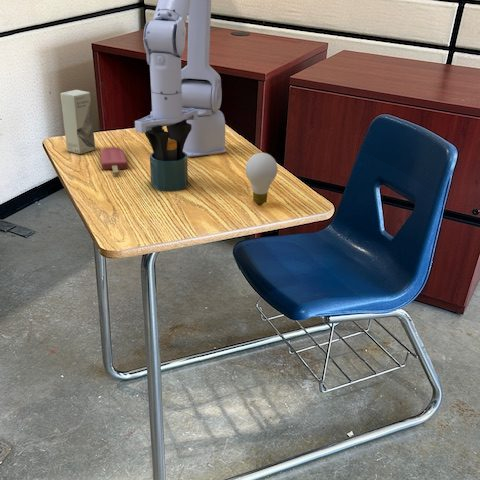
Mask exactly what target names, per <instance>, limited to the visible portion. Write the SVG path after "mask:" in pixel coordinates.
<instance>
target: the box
mask: <svg viewBox="0 0 480 480" xmlns="http://www.w3.org/2000/svg"><path fill="white" fill-rule="evenodd" d="M91 98H92V97H91V92H90V91H87V90H86V91H85V90H81V89H73V90H68V91H65V92H60V102H61V110H62V112H61V113H62V119H63V128H64V137H65V146H66V152H67V151H68V152H69V153H74V154H78V155H82V154H86V153H89V152H92V151H94V150H96V142H95V141H96V140H95V132H94V121H93V111H92V100H91Z"/></svg>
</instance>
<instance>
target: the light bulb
mask: <svg viewBox="0 0 480 480" xmlns="http://www.w3.org/2000/svg"><path fill="white" fill-rule="evenodd" d="M277 174H278V164H277V161H276V159H275V157H273V156H272V155H271V154H269V153H267V152H256V153H255V154H253V155H252V156H250V157H249V158H248V160H247V161H246V165H245V175H246V178H247V179H248V180H249V182H250V185H251V190H252V202H253V203H255V204H256V205H257V206H262V205H264V204H266V203H267V200H268V193H269V190H270V187H271V184H272V183H273V182H274V180H275V179H276V177H277Z"/></svg>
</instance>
